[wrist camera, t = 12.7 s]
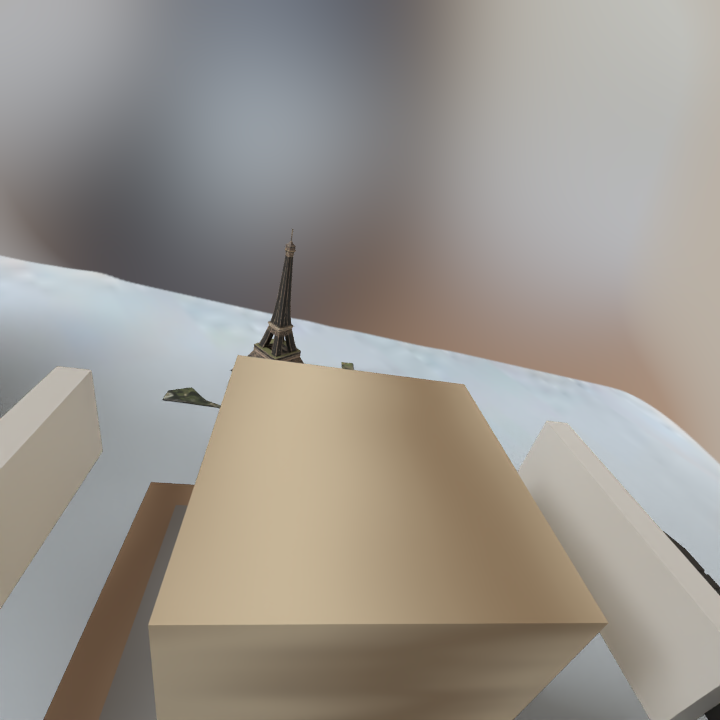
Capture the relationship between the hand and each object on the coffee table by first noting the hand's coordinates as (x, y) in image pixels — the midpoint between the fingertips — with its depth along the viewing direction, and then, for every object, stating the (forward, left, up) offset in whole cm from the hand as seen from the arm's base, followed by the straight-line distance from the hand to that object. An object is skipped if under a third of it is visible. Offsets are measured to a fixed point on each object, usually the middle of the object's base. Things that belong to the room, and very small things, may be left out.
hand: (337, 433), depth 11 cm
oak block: (0, -3, -7) cm, 8 cm away
